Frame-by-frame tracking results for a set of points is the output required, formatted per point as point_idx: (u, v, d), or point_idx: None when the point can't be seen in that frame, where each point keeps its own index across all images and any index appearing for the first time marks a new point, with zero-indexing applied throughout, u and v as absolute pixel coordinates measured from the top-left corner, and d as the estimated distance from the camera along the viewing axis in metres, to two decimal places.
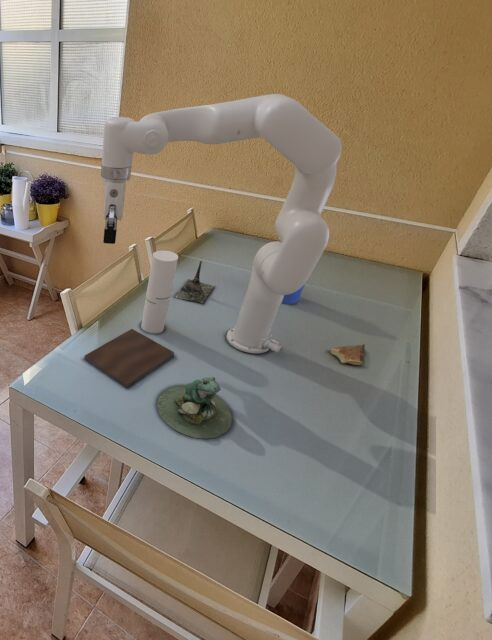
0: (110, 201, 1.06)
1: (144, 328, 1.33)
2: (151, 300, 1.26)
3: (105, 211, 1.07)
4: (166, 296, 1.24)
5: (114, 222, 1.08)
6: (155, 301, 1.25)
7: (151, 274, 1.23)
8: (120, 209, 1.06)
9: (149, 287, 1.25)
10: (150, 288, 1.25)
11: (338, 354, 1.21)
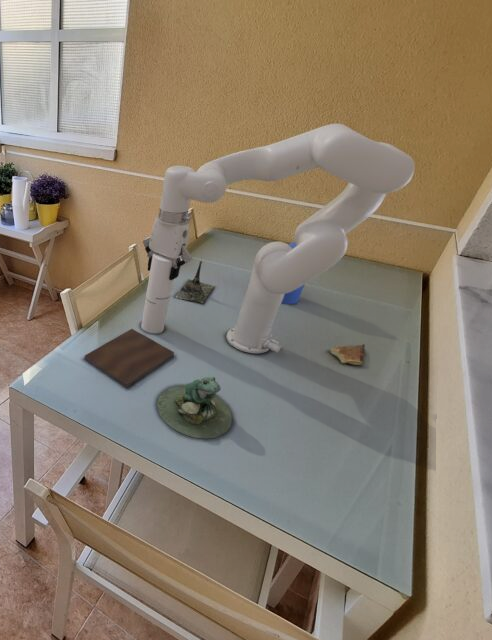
0: (182, 243, 1.13)
1: (144, 328, 1.33)
2: (151, 300, 1.26)
3: (178, 251, 1.14)
4: (166, 296, 1.24)
5: (180, 259, 1.18)
6: (155, 301, 1.25)
7: (151, 274, 1.23)
8: (187, 245, 1.16)
9: (149, 287, 1.25)
10: (150, 288, 1.25)
11: (338, 354, 1.21)
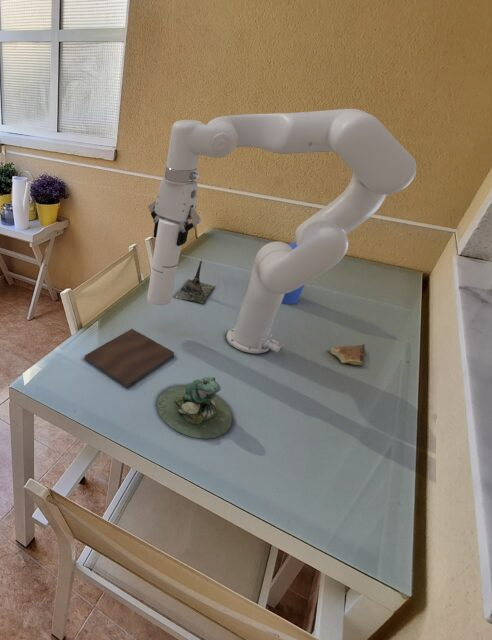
0: (191, 204, 1.07)
1: (150, 300, 1.26)
2: (157, 269, 1.19)
3: (186, 213, 1.08)
4: (173, 264, 1.18)
5: (188, 223, 1.11)
6: (162, 270, 1.19)
7: (157, 240, 1.16)
8: (195, 207, 1.09)
9: (155, 255, 1.18)
10: (156, 256, 1.18)
11: (338, 354, 1.21)
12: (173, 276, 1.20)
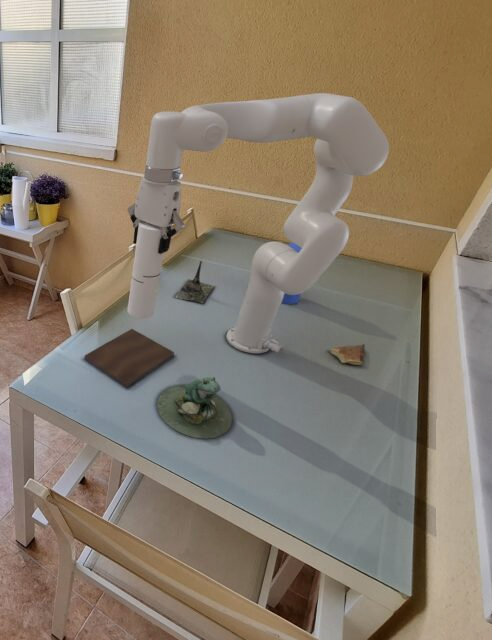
0: (173, 207, 0.94)
1: (130, 312, 1.14)
2: (138, 278, 1.07)
3: (168, 218, 0.95)
4: (155, 273, 1.06)
5: (171, 228, 0.99)
6: (142, 280, 1.07)
7: (137, 247, 1.04)
8: (179, 211, 0.97)
9: (135, 263, 1.06)
10: (136, 264, 1.06)
11: (338, 354, 1.21)
12: (155, 287, 1.08)
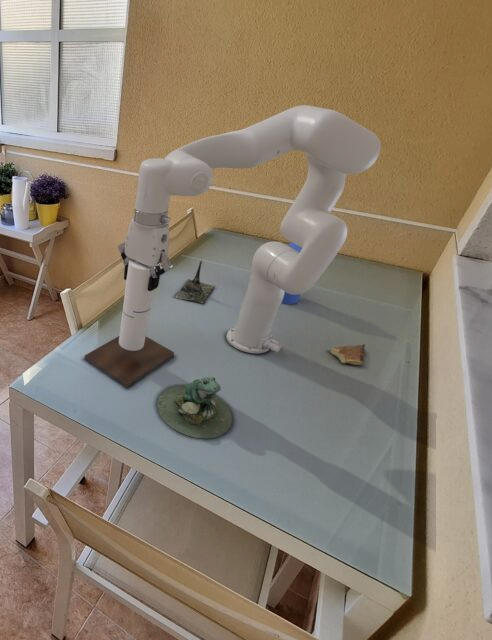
0: (162, 248, 0.97)
1: (121, 344, 1.17)
2: (128, 313, 1.10)
3: (156, 259, 0.98)
4: (145, 309, 1.08)
5: (160, 267, 1.02)
6: (132, 315, 1.09)
7: (127, 284, 1.07)
8: (167, 251, 1.00)
9: (125, 299, 1.09)
10: (127, 300, 1.09)
11: (338, 354, 1.21)
12: (145, 321, 1.11)
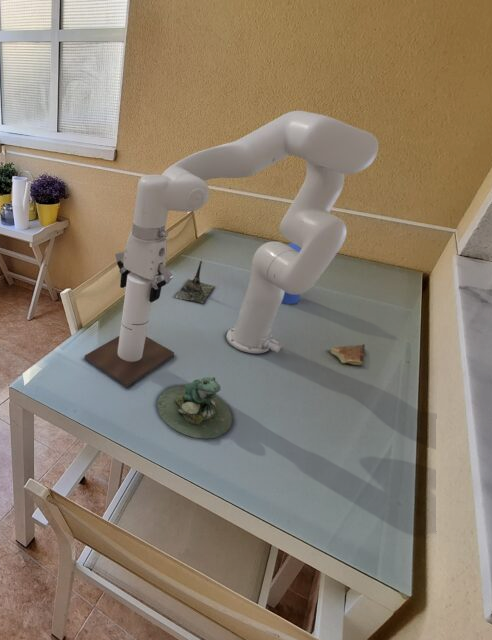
0: (159, 260, 0.99)
1: (120, 355, 1.19)
2: (127, 326, 1.12)
3: (154, 272, 1.00)
4: (143, 321, 1.11)
5: (160, 279, 1.03)
6: (131, 327, 1.12)
7: (126, 297, 1.09)
8: (165, 264, 1.02)
9: (124, 311, 1.11)
10: (125, 312, 1.11)
11: (338, 354, 1.21)
12: (143, 333, 1.13)
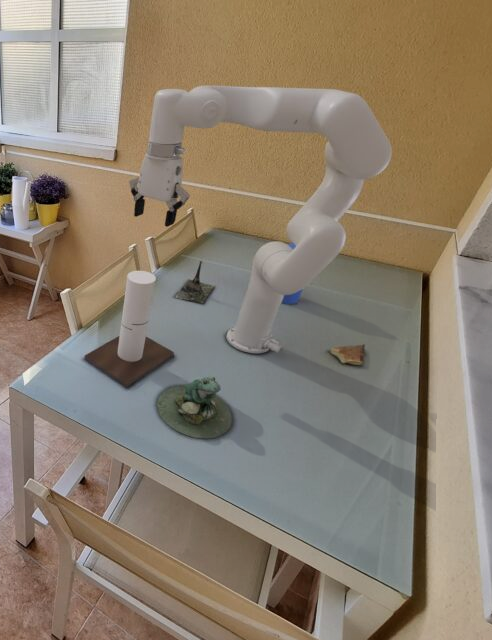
0: (175, 180, 0.99)
1: (120, 355, 1.19)
2: (127, 326, 1.12)
3: (171, 192, 1.00)
4: (143, 321, 1.11)
5: (176, 201, 1.03)
6: (131, 327, 1.12)
7: (126, 297, 1.09)
8: (180, 186, 1.01)
9: (124, 311, 1.11)
10: (125, 312, 1.11)
11: (338, 354, 1.21)
12: (143, 333, 1.13)
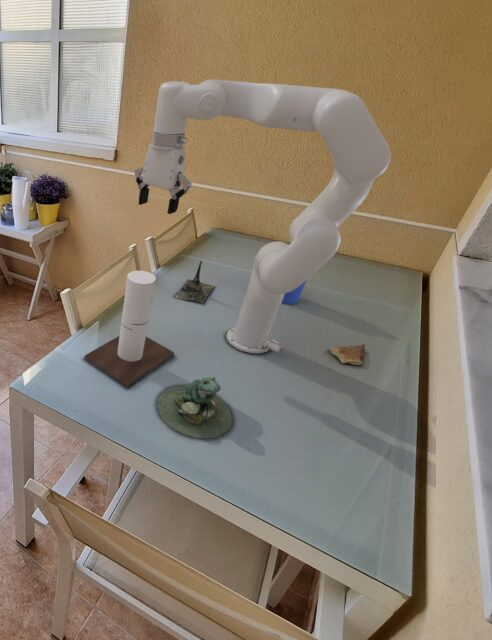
0: (178, 169, 1.04)
1: (120, 355, 1.19)
2: (127, 326, 1.12)
3: (173, 180, 1.05)
4: (143, 321, 1.11)
5: (179, 189, 1.07)
6: (131, 327, 1.12)
7: (126, 297, 1.09)
8: (183, 175, 1.06)
9: (124, 311, 1.11)
10: (125, 312, 1.11)
11: (338, 354, 1.21)
12: (143, 333, 1.13)
